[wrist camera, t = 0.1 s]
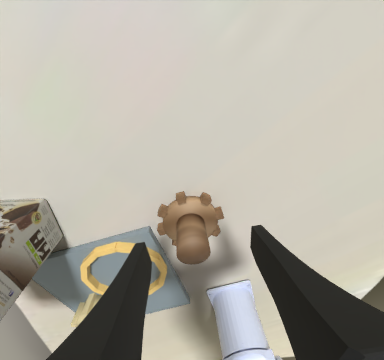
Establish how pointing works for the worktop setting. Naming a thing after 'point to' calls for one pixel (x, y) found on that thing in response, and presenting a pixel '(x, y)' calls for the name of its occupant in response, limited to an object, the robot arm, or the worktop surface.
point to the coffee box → (23, 245)
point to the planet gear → (190, 226)
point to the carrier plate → (108, 273)
